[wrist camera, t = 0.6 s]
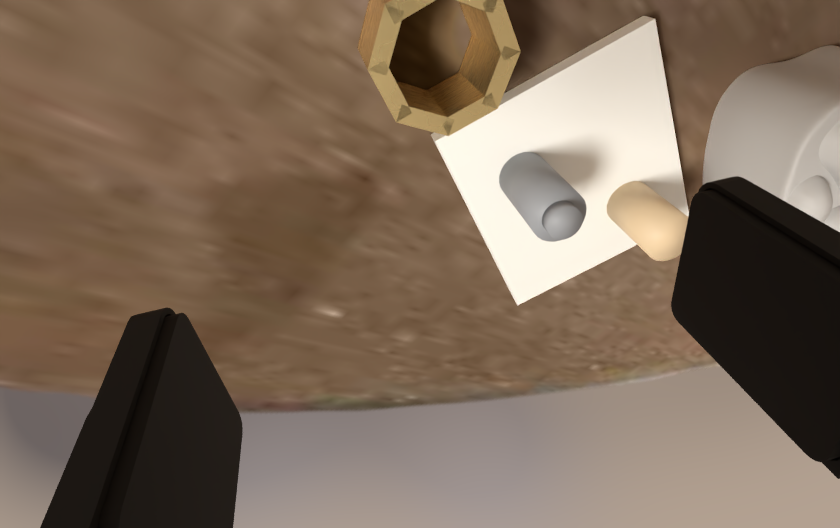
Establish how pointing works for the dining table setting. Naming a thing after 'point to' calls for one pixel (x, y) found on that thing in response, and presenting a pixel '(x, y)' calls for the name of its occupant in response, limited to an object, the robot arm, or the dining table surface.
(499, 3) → the brass collar
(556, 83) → the post board
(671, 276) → the dining table surface
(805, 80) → the lumpy-topped squat cylinder
